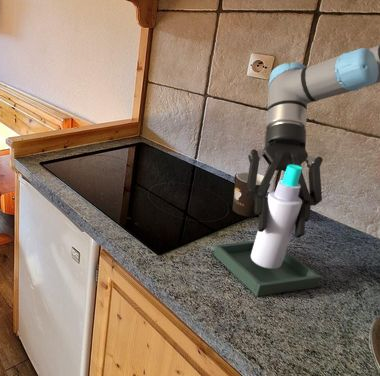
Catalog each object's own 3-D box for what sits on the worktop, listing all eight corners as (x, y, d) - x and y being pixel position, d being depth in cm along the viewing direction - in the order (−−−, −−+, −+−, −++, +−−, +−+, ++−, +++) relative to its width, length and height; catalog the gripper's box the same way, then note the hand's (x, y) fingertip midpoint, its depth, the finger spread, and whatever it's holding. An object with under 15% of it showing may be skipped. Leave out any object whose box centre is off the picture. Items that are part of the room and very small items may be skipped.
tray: (317, 287, 83) (321, 276, 82) (256, 296, 80) (260, 285, 79) (267, 248, 96) (270, 238, 95) (213, 254, 93) (215, 245, 92)
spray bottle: (249, 264, 86) (277, 169, 76) (250, 250, 91) (277, 159, 81) (281, 273, 83) (314, 175, 74) (280, 258, 88) (311, 164, 79)
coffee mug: (264, 221, 108) (273, 187, 104) (229, 215, 110) (237, 181, 106) (258, 202, 118) (267, 170, 114) (226, 197, 120) (234, 166, 116)
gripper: (327, 143, 88) (326, 245, 81) (234, 133, 93) (225, 229, 86) (344, 126, 81) (344, 236, 74) (242, 116, 86) (233, 219, 79)
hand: (280, 232), depth 80 cm, fingers closed on spray bottle, 6 cm apart
